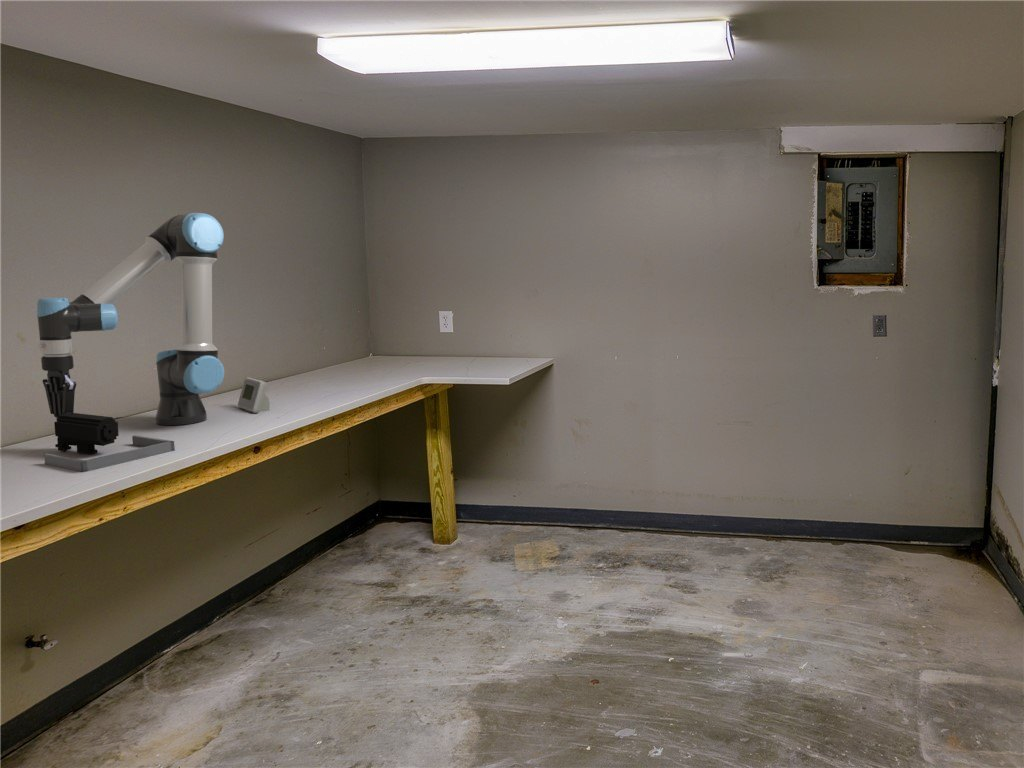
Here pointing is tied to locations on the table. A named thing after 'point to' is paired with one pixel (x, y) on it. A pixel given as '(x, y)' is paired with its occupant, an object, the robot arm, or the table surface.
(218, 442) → the table surface
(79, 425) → the security camera
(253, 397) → the digital clock
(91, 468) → the grey u-shaped frame
